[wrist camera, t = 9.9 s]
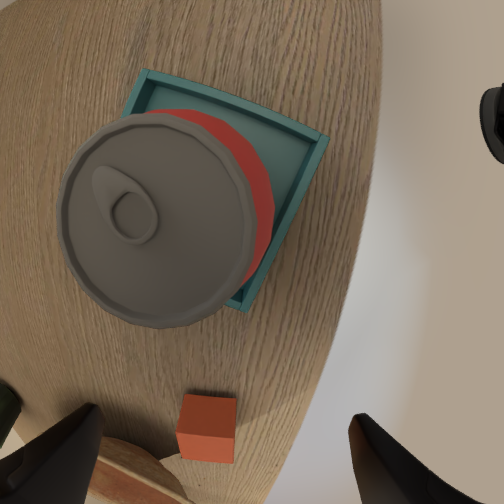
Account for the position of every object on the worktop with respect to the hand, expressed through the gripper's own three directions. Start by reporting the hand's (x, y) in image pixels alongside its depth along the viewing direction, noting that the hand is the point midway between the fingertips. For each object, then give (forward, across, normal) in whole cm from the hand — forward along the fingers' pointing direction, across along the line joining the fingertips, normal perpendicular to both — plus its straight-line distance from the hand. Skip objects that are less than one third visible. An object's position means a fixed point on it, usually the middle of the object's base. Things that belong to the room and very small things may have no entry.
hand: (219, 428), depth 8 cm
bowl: (+13, +16, +28) cm, 35 cm away
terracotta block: (+13, +3, +15) cm, 20 cm away
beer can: (+13, +1, -6) cm, 14 cm away
